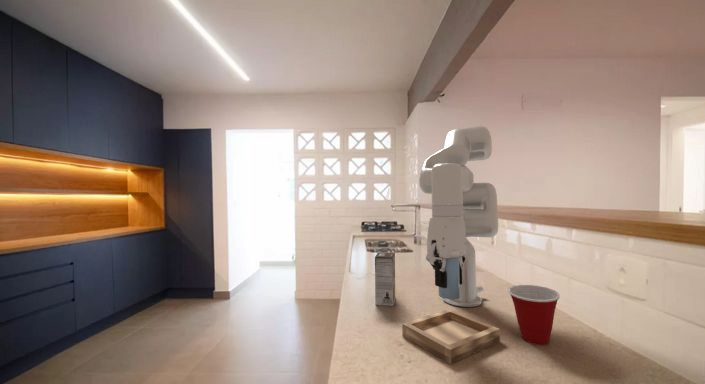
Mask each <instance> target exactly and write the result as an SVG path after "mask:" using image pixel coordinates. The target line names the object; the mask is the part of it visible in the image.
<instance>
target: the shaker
mask: <svg viewBox="0 0 705 384" xmlns="http://www.w3.org/2000/svg"><path fill="white" fill-rule="evenodd" d="M439 263H440V264H441V260H439ZM445 271H446V272H447V288H442V287H438V296H439V298H441V299H442V298H445V299H459V298H460V278H459V250H456V251H451V256H450V258H448V259H446V265H445Z"/></svg>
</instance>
